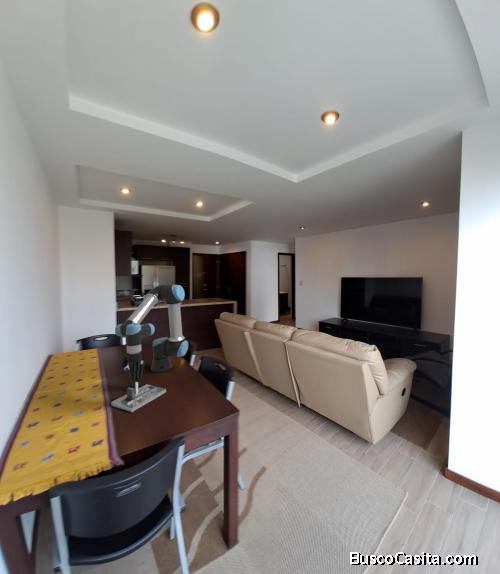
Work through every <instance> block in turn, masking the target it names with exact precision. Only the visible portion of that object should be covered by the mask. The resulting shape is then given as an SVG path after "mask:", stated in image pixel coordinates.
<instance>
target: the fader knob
mask: <svg viewBox="0 0 500 574" xmlns="http://www.w3.org/2000/svg"><path fill="white" fill-rule="evenodd" d="M126 395H127V398H128V399H127V400H129V401H130V400H132V399H134V398H135V389H134V388H131V387H129V388H127V391H126Z"/></svg>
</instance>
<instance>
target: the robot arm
mask: <svg viewBox="0 0 500 574" xmlns="http://www.w3.org/2000/svg"><path fill="white" fill-rule="evenodd" d="M185 296H186V295H185V289H184V288H183V286H182V285H179V284H160V285H157V286H155V287H154V288H152V289H150V291H148V292H147V293H146V294H145V297H144V299H143V300H142V302H141V303H140V304H139V305H138V306H137V308H136V309H135V310H134V311H133V312H132V314H131V315H130V316H129V317H128V318H127V319H126V321H124V323H120V324H117V325H116V326H115V329H114V332H115V335H116V336H118V337H124V338H126V356H127V360H128V363H127V366H126V367H124V368H123V367H122V369H123V371H124V372H125V376H126V381H127V383H128V384H130V385H132V388H134V389H135V394H138V387H139V384H140V382H141V380H142V379H143V374H144V367H145V363H146V361H144V360H143V359H142V357H143V355H142V354H143V353H142V350H143V349H142V340H143V339H146V338H147V337H151V336H153V335H154V334H155V331H156V329H155V328H156V327H155V326H154V325H153V324H152V323H145V324H141V322H142V321H143V320H144V318H146V317H147V315H148V313H150V311H151V310H152V309H153V307H154V306H155V305H157V304H158V303H160V302H165V303H164V304H165V305H166V306H167V313H168V323H169V324H168V325H169V335H170V337H167V336H166V337H160V338H156V339H154V340H153V341H152V363H151V366H150V372H153V373H163V372H166V371H167V372H168V371H169V370H171V369H173V368H172V367H173V365H172V364H173V363H172V362H171V361H172V360H171V359H170V357H184V356H185V355H186V354H187V352H188V349H189V341H187V340H186V337H185V336H184V335H183V327H182V326H183V324H182V314H181V304H182V303H183V301H184V299H185ZM129 369H130V370H129Z"/></svg>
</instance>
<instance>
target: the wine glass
mask: <svg viewBox="0 0 500 574" xmlns="http://www.w3.org/2000/svg"><path fill="white" fill-rule="evenodd" d="M127 363H128V360H127V355H125V356H124V357H123V361H122V369H123V368H124V367H126V366H127ZM129 370H130V369H129ZM129 387H131V388H132V385H131V384H129V385H126V386H124V388H123V391H125V392H127V388H129ZM141 387H143V386H142V384H140V383H139V387H138V389H139V388H141Z"/></svg>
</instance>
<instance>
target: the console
mask: <svg viewBox="0 0 500 574" xmlns="http://www.w3.org/2000/svg"><path fill="white" fill-rule="evenodd" d="M166 393H167V388H164V387H159V386H155V385H151V384H145V385H143V386H142V387H141V388H139V389H138V394H135V398H134V399H132V400H130V401H129V400H127V399H128V398H127V394H124V395H123V396H121V397H118V398H117V399H115V400H113V401H110V405H111V407H114V408H117V409H121V410H123V411H127V412H130V413H134V411H136V410H138V409H139V408H142V407H143V406H145V405H147V404H149V403H151V401H153V400H155V399H157V398H159V397H160V396H162V395H164V394H166Z"/></svg>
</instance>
